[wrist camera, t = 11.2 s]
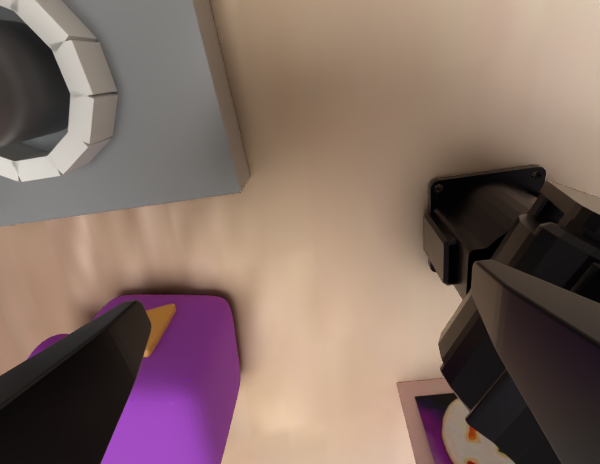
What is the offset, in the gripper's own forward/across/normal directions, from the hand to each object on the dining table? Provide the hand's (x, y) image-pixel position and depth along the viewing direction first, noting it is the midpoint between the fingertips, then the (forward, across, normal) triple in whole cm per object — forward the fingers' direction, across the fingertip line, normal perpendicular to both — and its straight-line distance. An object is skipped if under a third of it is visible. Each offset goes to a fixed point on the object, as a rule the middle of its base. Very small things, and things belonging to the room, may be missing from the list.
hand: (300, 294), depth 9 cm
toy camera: (+13, +14, +12) cm, 23 cm away
